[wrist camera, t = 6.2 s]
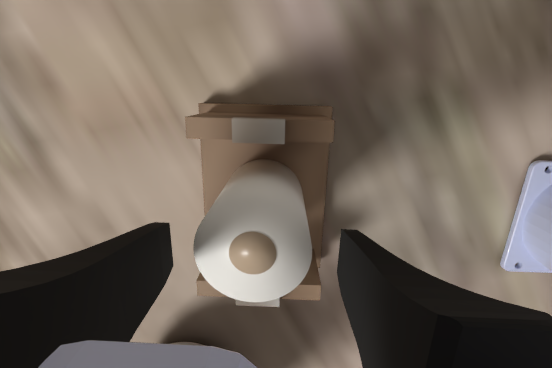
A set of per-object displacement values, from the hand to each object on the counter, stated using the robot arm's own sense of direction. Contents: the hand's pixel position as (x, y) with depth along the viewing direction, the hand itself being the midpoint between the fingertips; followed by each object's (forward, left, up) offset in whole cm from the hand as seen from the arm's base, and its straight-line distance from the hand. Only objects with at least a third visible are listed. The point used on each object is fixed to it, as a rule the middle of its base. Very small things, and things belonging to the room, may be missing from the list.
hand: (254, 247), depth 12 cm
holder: (0, 0, -8) cm, 8 cm away
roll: (0, 0, -7) cm, 7 cm away
